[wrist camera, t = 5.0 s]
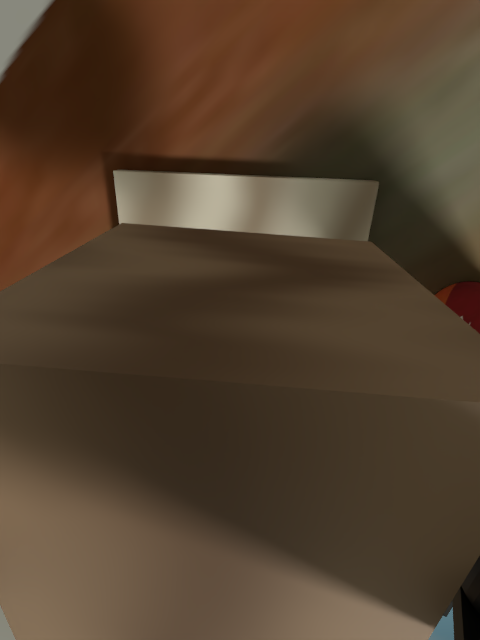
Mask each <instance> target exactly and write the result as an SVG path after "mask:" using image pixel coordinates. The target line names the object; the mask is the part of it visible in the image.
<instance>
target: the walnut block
mask: <svg viewBox="0 0 480 640" xmlns="http://www.w3.org/2000/svg"><path fill="white" fill-rule="evenodd" d="M479 556H480V334H479V333H478V332H477V331H476V330H475V329H473V328H472V327H471V326H470V325H469V324H467V323H466V322H465V321H464V320H463V319H462V318H460V317H459V316H458V315H457V314H456V313H455V312H453V311H452V310H451V309H450V308H449V307H447V306H446V305H445V304H444V303H443V302H442V301H440V300H439V299H438V298H437V297H436V296H435V295H433V294H432V293H431V292H430V291H429V290H427V289H426V288H425V287H424V286H423V285H422V284H420V283H419V282H418V281H417V280H416V279H415V278H413V277H412V276H411V275H410V274H409V273H407V272H406V271H405V270H404V269H403V268H402V267H400V266H399V265H398V264H397V263H396V262H395V261H393V260H392V259H391V258H390V257H389V256H387V255H386V254H385V253H384V252H383V251H382V250H380V249H379V248H378V247H377V246H376V245H375V244H373V243H372V242H370V241H356V240H343V239H330V238H316V237H303V236H290V235H276V234H263V233H250V232H236V231H223V230H210V229H197V228H183V227H170V226H157V225H143V224H130V223H121V224H119V225H118V226H116V227H114V228H112V229H110V230H109V231H107V232H105V233H103V234H102V235H100V236H98V237H96V238H95V239H93V240H91V241H89V242H87V243H86V244H84V245H82V246H80V247H79V248H77V249H75V250H73V251H71V252H70V253H68V254H66V255H64V256H63V257H61V258H59V259H57V260H56V261H54V262H52V263H50V264H48V265H47V266H45V267H43V268H41V269H40V270H38V271H36V272H34V273H32V274H31V275H29V276H27V277H25V278H24V279H22V280H20V281H18V282H17V283H15V284H13V285H11V286H9V287H8V288H6V289H4V290H2V291H1V292H0V605H1V608H2V610H3V612H4V614H5V617H6V619H7V621H8V623H9V625H10V628H11V630H12V632H13V635H14V637H15V639H16V640H428V638H429V637H430V635H431V634H432V632H433V631H434V629H435V627H436V626H437V624H438V622H439V621H440V619H441V618H442V616H443V614H444V613H445V611H446V609H447V608H448V606H449V605H450V603H451V601H452V600H453V598H454V596H455V595H456V593H457V592H458V590H459V588H460V587H461V585H462V583H463V582H464V580H465V578H466V577H467V575H468V574H469V572H470V570H471V569H472V567H473V565H474V564H475V562H476V561H477V559H478V557H479Z"/></svg>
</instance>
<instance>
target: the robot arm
mask: <svg viewBox="0 0 480 640" xmlns="http://www.w3.org/2000/svg"><path fill="white" fill-rule="evenodd" d="M452 607H453V621H454V640H480V556H479V557H478V559H477V561H476V562H475V564H474V565H473V567H472V569H471V570H470V572H469V574H468V575H467V577H466V578H465V580H464V582H463V583H462V585H461V587H460V588H459V590H458V592H457V593H456V595H455V596H454V598H453V600H452V601H451V603H450V605H449V606H448V608H447V609H446V611H445V613H444V614H443V616H445V617H446V616H447V615H448V613H449V612H450V610H451V608H452Z"/></svg>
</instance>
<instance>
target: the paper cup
mask: <svg viewBox="0 0 480 640" xmlns="http://www.w3.org/2000/svg"><path fill="white" fill-rule="evenodd" d="M435 296H436V297H437V298H438V299H439V300H440V301H442V302H443V303H444V304H445V305H446V306H447V307H449V308H450V309H451V310H452V311H453V312H455V313H456V314H457V315H458V316H459V317H460V318H462V319H463V320H464V321H465V322H466V323H467V324H469V325H470V326H471V327H472V328H473V329H475V330H476V331H477V332H478V333H479V334H480V283H479V282H472V281H467V282H459V283H455V284H452V285H450V286H447V287H445V288H444V289H442V290H440V291H439V292H437V293H436V294H435Z"/></svg>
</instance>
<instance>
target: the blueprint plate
mask: <svg viewBox="0 0 480 640" xmlns="http://www.w3.org/2000/svg"><path fill="white" fill-rule="evenodd" d="M113 174H114V183H115V192H116V200H117V209H118V218H119V224H121V223H130V224H143V225H157V226H170V227H183V228H197V229H210V230H223V231H236V232H250V233H263V234H276V235H290V236H303V237H316V238H330V239H343V240H356V241H368V237H369V232H370V227H371V222H372V217H373V212H374V207H375V202H376V197H377V192H378V187H379V182H377V181H374V180H352V179H328V178H305V177H281V176H258V175H234V174H211V173H187V172H163V171H140V170H115V171H113Z"/></svg>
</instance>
